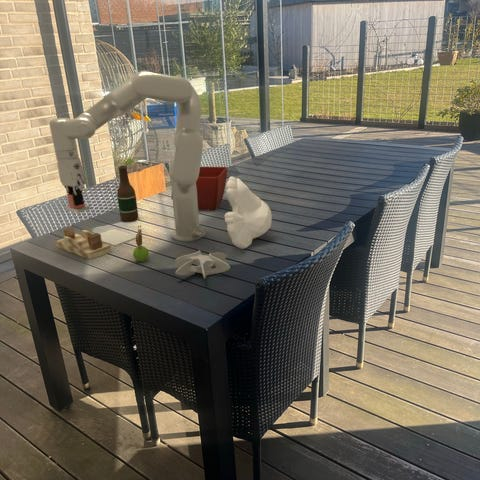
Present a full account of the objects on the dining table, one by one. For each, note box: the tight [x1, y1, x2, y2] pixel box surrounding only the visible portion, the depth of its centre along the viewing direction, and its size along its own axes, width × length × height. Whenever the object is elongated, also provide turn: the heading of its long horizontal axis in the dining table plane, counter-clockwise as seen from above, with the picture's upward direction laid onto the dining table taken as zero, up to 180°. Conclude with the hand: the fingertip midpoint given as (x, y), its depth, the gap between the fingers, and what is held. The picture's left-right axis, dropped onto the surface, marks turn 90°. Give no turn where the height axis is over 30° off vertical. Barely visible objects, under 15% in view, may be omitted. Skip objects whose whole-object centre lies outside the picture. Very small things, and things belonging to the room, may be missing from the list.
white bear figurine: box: [224, 176, 273, 250], centre depth 177 cm, size 25×16×25 cm
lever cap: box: [65, 192, 91, 214], centre depth 175 cm, size 8×5×6 cm, turn 50°
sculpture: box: [174, 250, 231, 280], centre depth 157 cm, size 18×20×6 cm
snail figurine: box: [132, 225, 150, 262], centre depth 167 cm, size 5×6×12 cm
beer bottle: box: [116, 165, 139, 223], centre depth 208 cm, size 8×8×24 cm
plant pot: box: [196, 166, 228, 211], centre depth 222 cm, size 19×19×17 cm
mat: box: [100, 228, 136, 247], centre depth 191 cm, size 16×11×1 cm
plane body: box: [56, 227, 112, 261], centre depth 180 cm, size 22×9×8 cm, turn 50°
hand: (76, 203), depth 175 cm, fingers closed on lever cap, 3 cm apart
